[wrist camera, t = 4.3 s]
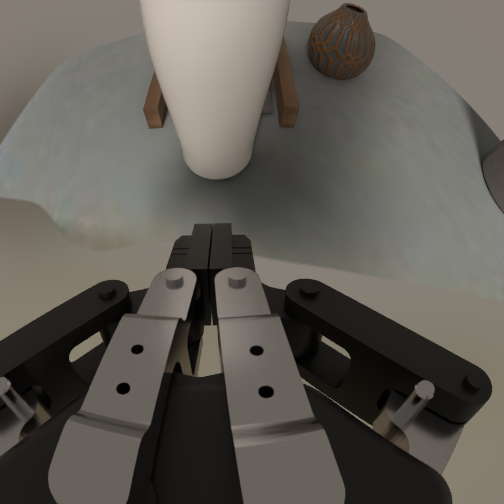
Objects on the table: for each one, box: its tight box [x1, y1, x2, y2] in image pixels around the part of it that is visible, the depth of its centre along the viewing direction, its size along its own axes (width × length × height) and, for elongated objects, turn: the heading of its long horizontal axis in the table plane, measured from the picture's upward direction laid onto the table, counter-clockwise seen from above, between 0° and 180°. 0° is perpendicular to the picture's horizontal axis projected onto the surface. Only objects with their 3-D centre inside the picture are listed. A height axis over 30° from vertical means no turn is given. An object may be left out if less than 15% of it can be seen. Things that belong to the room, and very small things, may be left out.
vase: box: [308, 3, 375, 80], centre depth 22 cm, size 7×7×9 cm
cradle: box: [143, 37, 299, 129], centre depth 24 cm, size 12×14×2 cm
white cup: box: [140, 0, 290, 180], centre depth 15 cm, size 7×7×15 cm
